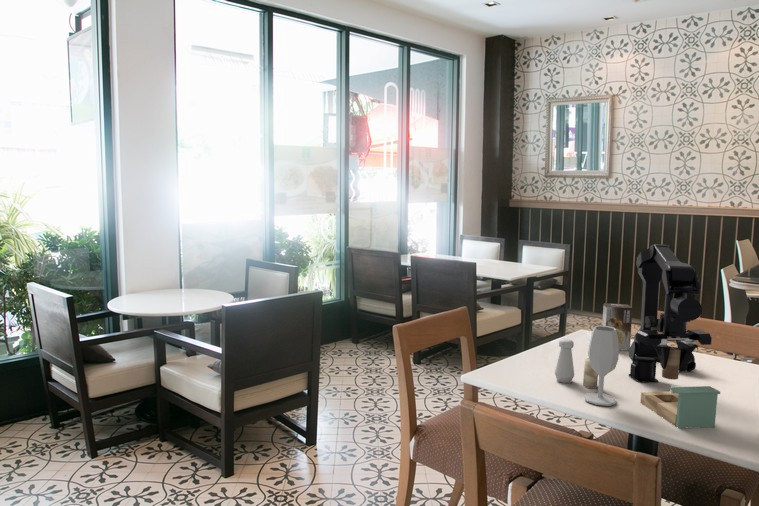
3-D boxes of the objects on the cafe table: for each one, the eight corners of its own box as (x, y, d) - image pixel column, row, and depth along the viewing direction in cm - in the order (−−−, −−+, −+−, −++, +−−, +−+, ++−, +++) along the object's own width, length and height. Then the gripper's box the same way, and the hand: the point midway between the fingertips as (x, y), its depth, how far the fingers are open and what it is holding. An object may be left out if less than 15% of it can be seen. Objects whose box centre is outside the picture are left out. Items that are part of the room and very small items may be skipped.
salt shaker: (574, 384, 183) (577, 343, 181) (555, 383, 184) (557, 341, 182) (572, 378, 189) (575, 338, 187) (553, 376, 190) (556, 336, 188)
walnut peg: (681, 379, 163) (683, 350, 161) (667, 379, 162) (669, 350, 161) (672, 374, 166) (674, 346, 165) (658, 374, 166) (661, 346, 165)
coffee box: (626, 346, 227) (629, 304, 225) (630, 351, 220) (633, 307, 218) (600, 344, 228) (603, 302, 226) (603, 349, 222) (606, 306, 220)
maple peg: (593, 383, 184) (594, 358, 183) (599, 388, 181) (601, 362, 180) (580, 383, 184) (582, 358, 183) (586, 388, 180) (588, 362, 179)
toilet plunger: (680, 362, 192) (641, 331, 207) (680, 387, 198) (642, 355, 213) (704, 351, 193) (664, 321, 208) (703, 375, 199) (664, 344, 214)
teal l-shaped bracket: (706, 420, 158) (709, 386, 156) (716, 427, 154) (720, 391, 152) (667, 422, 156) (670, 387, 155) (676, 428, 152) (679, 392, 151)
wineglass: (612, 409, 164) (618, 334, 161) (580, 402, 169) (584, 329, 166) (619, 399, 171) (624, 327, 169) (587, 393, 176) (592, 322, 173)
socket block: (673, 401, 171) (674, 391, 170) (711, 424, 155) (712, 413, 155) (640, 402, 170) (641, 392, 169) (674, 426, 154) (675, 414, 153)
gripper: (689, 305, 171) (684, 358, 173) (627, 305, 168) (623, 359, 171) (715, 314, 160) (710, 371, 162) (649, 314, 158) (645, 372, 160)
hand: (671, 368), depth 164 cm, fingers closed on walnut peg, 4 cm apart
